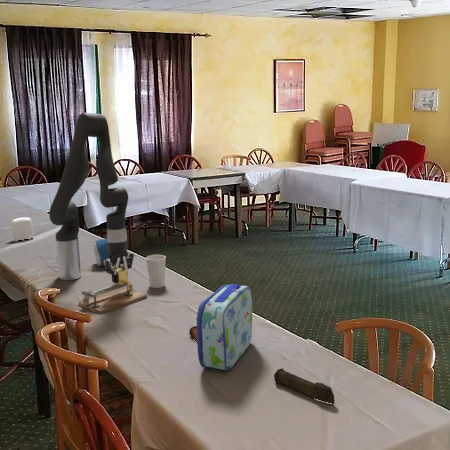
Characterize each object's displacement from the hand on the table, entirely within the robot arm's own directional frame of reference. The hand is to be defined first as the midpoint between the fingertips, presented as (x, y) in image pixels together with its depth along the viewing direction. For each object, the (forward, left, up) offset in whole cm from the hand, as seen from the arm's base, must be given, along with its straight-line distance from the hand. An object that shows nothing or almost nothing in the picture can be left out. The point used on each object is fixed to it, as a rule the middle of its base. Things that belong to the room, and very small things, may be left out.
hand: (120, 281), depth 233 cm
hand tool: (+99, -14, -6) cm, 100 cm away
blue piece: (-38, +23, -6) cm, 45 cm away
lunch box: (+68, -12, -6) cm, 69 cm away
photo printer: (-113, +20, -6) cm, 115 cm away
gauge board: (+3, -6, -6) cm, 9 cm away
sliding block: (+2, 0, -4) cm, 4 cm away
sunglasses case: (+56, -3, -7) cm, 57 cm away
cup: (+2, +17, -6) cm, 18 cm away
